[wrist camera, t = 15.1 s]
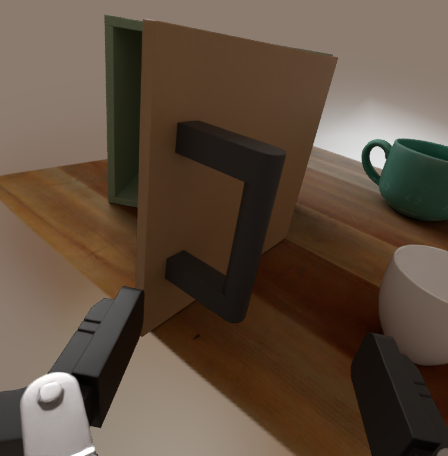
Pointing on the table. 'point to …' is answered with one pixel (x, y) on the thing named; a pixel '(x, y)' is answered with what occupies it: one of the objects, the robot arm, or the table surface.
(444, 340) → the cup
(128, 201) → the cupboard
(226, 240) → the cupboard door
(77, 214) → the table surface
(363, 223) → the table surface
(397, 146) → the mug
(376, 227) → the table surface
